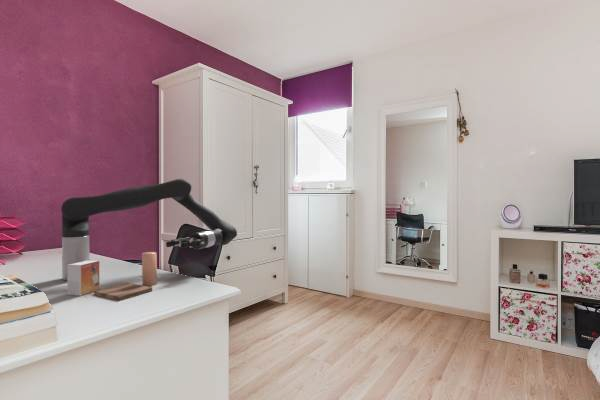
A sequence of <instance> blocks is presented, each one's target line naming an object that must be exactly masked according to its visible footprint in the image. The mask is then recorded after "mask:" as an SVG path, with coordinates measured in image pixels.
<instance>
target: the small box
mask: <svg viewBox="0 0 600 400" xmlns="http://www.w3.org/2000/svg"><path fill="white" fill-rule="evenodd" d="M67 271H68V280H67V295H68V296H77V297H78V296H80V297H81V296H84V295H86V294H89V293H94V291H97V290H100V260H86V261H82V262H78V263H74V264H68V265H67Z"/></svg>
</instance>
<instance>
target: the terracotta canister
mask: <svg viewBox="0 0 600 400" xmlns="http://www.w3.org/2000/svg"><path fill="white" fill-rule="evenodd" d="M157 258H158V257H157V252H156V251H146V252H142V253H141V269H142V270H141V274H142V276H141V278H142V279H141V282H142V284H141V285H142V286H147V287H153V286H156V285H157V284H158V272H157V270H158V268H157V267H158V266H157V265H158V261H157Z"/></svg>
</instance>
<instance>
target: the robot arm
mask: <svg viewBox="0 0 600 400" xmlns="http://www.w3.org/2000/svg"><path fill="white" fill-rule="evenodd" d="M191 192H192V184H191V183H190V181H188V180H186V179H184V178H177V179H173V180H170V181H165V182H162V183H156V184H149V185H141V186H136V187H135V186H134V187H128V188H124V189H122V188H121V189H119V190H114V191H111V192H107V193H105V194H103V193H102V194H100V195H90V196H81V197H80V196H76V197H75V196H73V197H69V198H67V199H66V200H64V201H63V203H62V204H61V208H60V210H61V218H62V219H61V222H62V223H61V245H62V246H61V253H62V254H61V255H62V256H61V268H62V271H61V272H62V274H61V275H62V276H61V278H62V280H63V281H68V271H67V265H68V264H74V263H78V262H82V261H86V260H90V259H91V258H90V217H91V216H95V215H98V214H102V213H109V212H111V213H112V212H119V211H127V210H132V209H133V210H134V209H138V208H143V207H145V206H148V205H151V204H153V203H156V202H158V201H162V200H165V199H172V200H174V201H176V202H177V203H178V204H179V205H182V207H183V208H185V209H187V210H188V211H189V212H191V213H192V214H193V215H194V216H195V217H197V218H198V220H199V221H201V222H202V223H203V224H204V225H205V226H206V227H207V228H208V229H209V230H202V231H196V232H193V233H191V235H190V236H187V237H184V238H183V237H181V238H180V237H179V238H175V239H171V240H169V241H165V244H166V245H165V246H166V248H172V247H178V246H179V248H180V249H187V248H192V249H194V250H200V249H201V250H202V249H205V248H210V247H212V246H213V247H214V246H226V245H228V244H229V243H231V242H232V241H233V240H234V239H235V238H236V237H237V235H238V231H237V229H236V228H235V226H233V225H232V224H230V223H228V222H226V221H225V220H222V219H221V218H220V217H219V216H218V215H217V214H216V213H215V212H214V211H213V210H211V209H210V208H208V207H207V206H205V205H204V204H202V203H200V202H199V201H198V200H197V199H196V198H195V197H194V196H193V195H192V194H191Z"/></svg>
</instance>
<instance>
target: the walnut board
mask: <svg viewBox="0 0 600 400" xmlns="http://www.w3.org/2000/svg"><path fill="white" fill-rule="evenodd" d="M152 291H153V286H142V284H136V283H132V282H125V283H121V284H118V285H113V286H109V287H105V288H102V289H100V288H99V290H97V291H93V295H95V296H99V297H103V298H107V299H112V300H115V301H119V302H120V301H123V300H127V299H130V298H132V297H136V296H140V295H143V294H146V293H149V292H152Z"/></svg>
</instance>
